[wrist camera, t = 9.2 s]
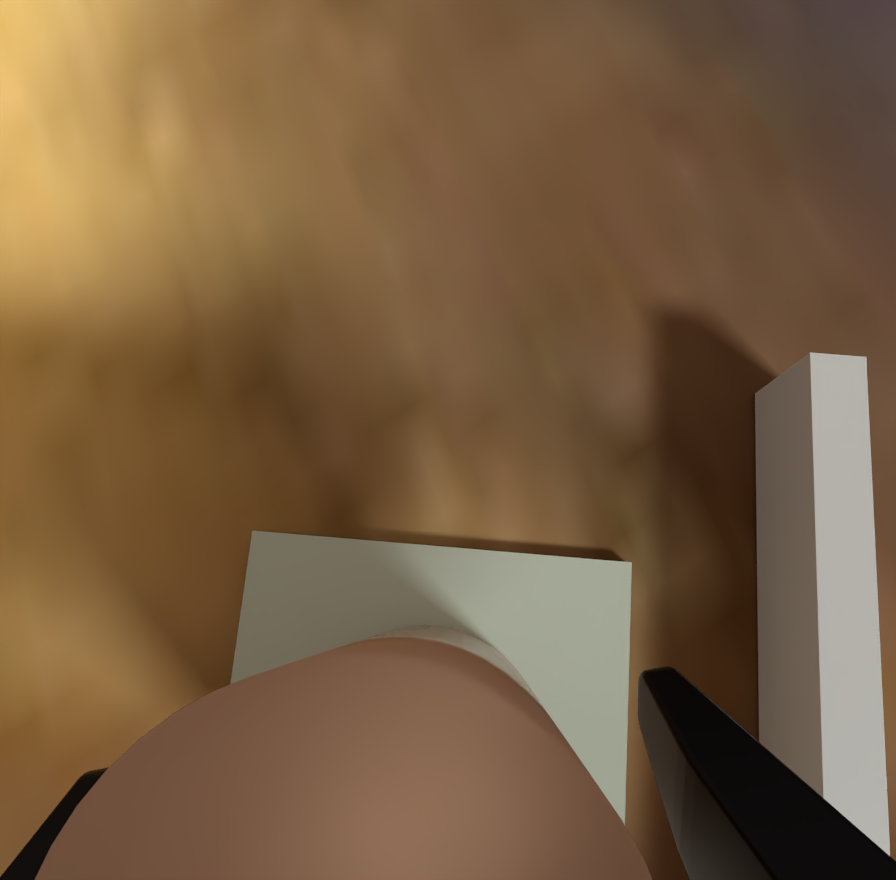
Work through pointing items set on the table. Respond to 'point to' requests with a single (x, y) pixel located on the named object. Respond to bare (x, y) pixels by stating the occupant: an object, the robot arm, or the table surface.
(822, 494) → the low wall
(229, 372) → the table surface
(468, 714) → the tan round cylinder
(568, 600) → the tile
